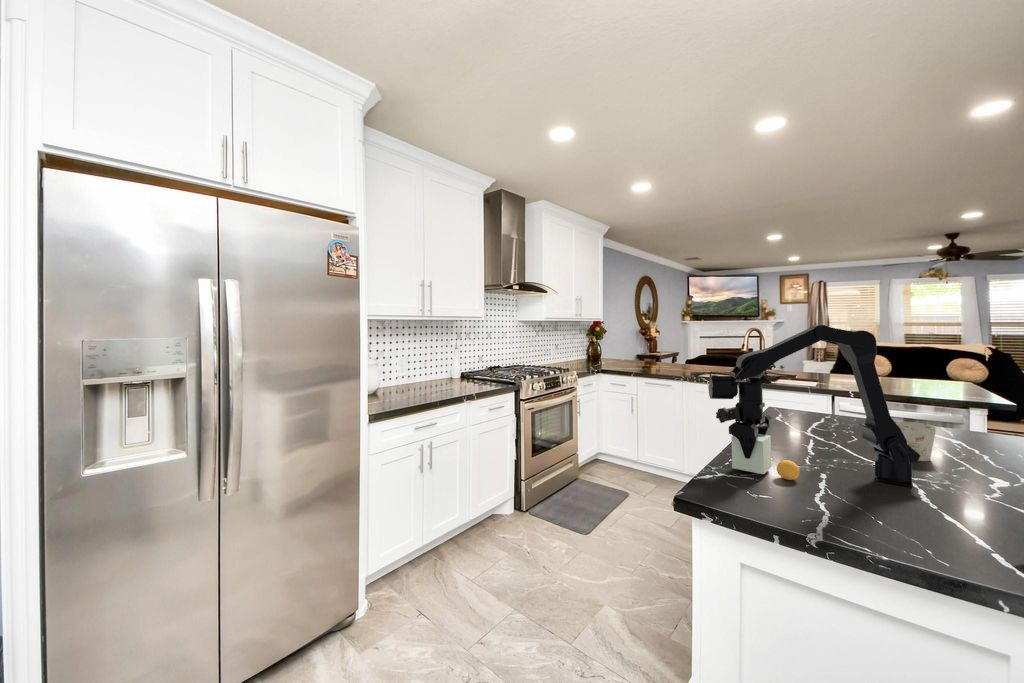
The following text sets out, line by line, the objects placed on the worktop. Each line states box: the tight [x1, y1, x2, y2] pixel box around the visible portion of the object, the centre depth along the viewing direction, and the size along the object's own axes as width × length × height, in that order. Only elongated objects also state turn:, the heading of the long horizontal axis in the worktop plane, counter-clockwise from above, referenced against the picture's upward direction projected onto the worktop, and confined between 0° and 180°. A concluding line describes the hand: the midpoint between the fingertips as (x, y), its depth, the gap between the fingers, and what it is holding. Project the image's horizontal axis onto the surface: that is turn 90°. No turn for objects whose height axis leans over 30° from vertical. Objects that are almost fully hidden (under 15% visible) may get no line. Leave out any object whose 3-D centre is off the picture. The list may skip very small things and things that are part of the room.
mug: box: [895, 421, 937, 462], centre depth 119 cm, size 8×13×10 cm, turn 78°
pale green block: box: [731, 434, 772, 475], centre depth 112 cm, size 8×8×9 cm
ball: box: [776, 459, 800, 481], centre depth 106 cm, size 5×5×5 cm
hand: (751, 454), depth 112 cm, fingers closed on pale green block, 8 cm apart
